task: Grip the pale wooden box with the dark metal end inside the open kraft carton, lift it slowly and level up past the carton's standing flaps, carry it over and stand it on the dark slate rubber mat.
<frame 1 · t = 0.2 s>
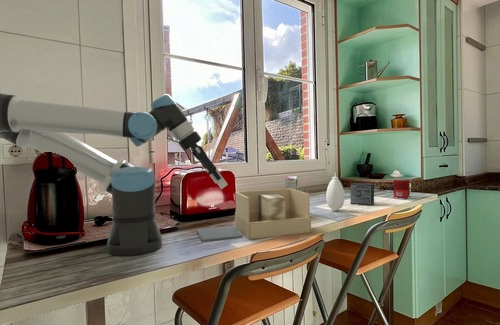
hand: (221, 184, 109), 16 cm above the breakfast bar, tool tilted 35°, fingers open, 13 cm apart
air blower bulb: (335, 211, 136), on the breakfast bar
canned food: (401, 198, 168), on the breakfast bar
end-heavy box: (271, 212, 106), in the carton
candy bar box: (292, 215, 128), on the breakfast bar
carton: (271, 229, 106), on the breakfast bar
small box: (362, 204, 152), on the breakfast bar
mat: (218, 234, 101), on the breakfast bar
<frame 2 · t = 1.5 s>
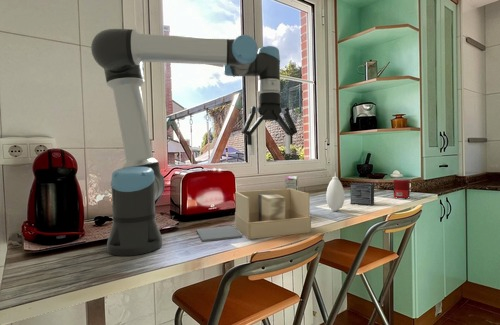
hand: (270, 154, 105), 27 cm above the breakfast bar, tool pointing down, fingers open, 13 cm apart
nothing on the breakfast bar moved.
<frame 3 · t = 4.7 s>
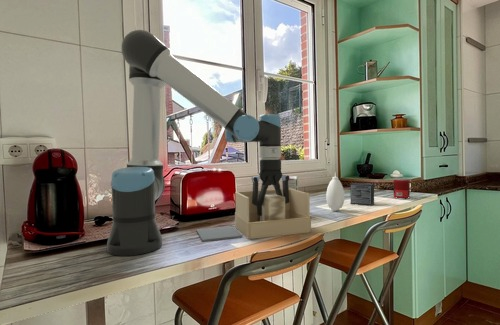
hand: (271, 223, 106), 2 cm above the breakfast bar, tool pointing down, fingers closed on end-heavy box, 6 cm apart
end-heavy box: (271, 212, 106), in the carton, touching gripper
everything else where it was.
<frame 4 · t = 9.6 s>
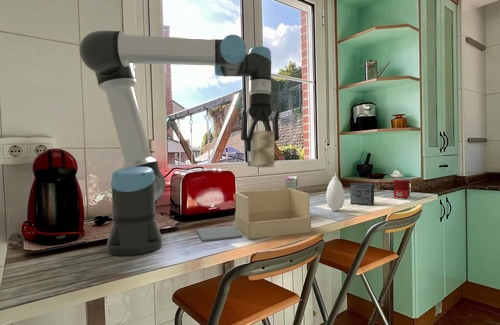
hand: (260, 160, 104), 24 cm above the breakfast bar, tool pointing down, fingers closed on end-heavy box, 6 cm apart
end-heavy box: (260, 149, 104), point 28 cm above the breakfast bar, touching gripper
everything else where it was.
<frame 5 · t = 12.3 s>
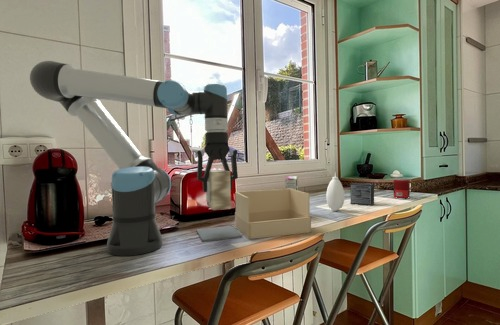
hand: (218, 200, 101), 11 cm above the breakfast bar, tool pointing down, fingers closed on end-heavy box, 6 cm apart
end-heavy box: (218, 188, 100), point 15 cm above the breakfast bar, touching gripper
everything else where it was.
when the fingers open (4 cm above the breakfast bar, at t = 14.8 s): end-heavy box drops 1 cm, resting on mat.
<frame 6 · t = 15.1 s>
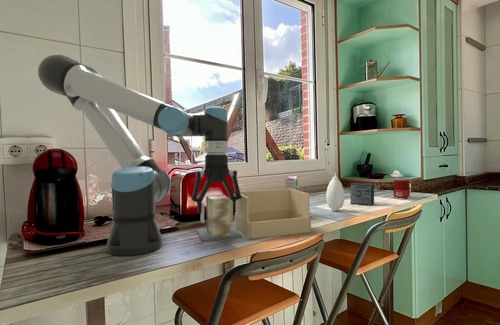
hand: (216, 220, 101), 4 cm above the breakfast bar, tool pointing down, fingers open, 9 cm apart
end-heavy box: (218, 214, 100), on the mat, point 7 cm above the breakfast bar
everything else where it was.
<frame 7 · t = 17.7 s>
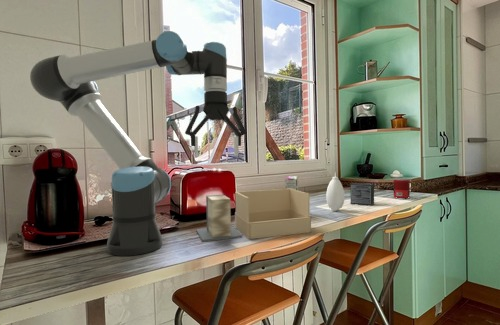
hand: (216, 156, 100), 26 cm above the breakfast bar, tool pointing down, fingers open, 13 cm apart
nothing on the breakfast bar moved.
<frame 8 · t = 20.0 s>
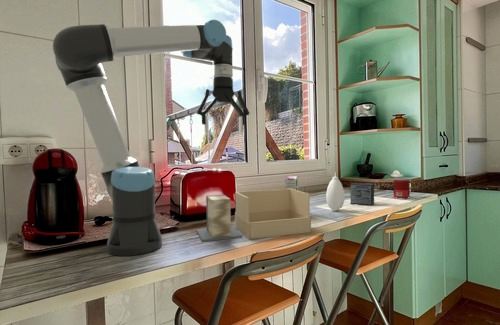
hand: (223, 133, 116), 35 cm above the breakfast bar, tool pointing down, fingers open, 13 cm apart
nothing on the breakfast bar moved.
at the end: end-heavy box inside the target area on the mat (0.4 cm from its centre), point 6.6 cm above the mat's base; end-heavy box tilted 0°; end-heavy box touching mat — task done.
